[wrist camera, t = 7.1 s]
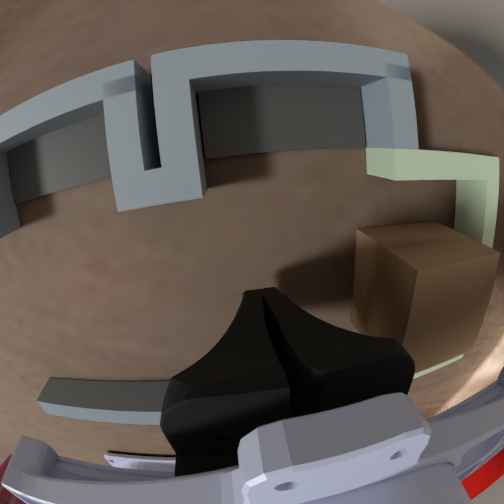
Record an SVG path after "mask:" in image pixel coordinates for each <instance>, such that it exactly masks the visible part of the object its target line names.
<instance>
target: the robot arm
mask: <svg viewBox="0 0 504 504" xmlns="http://www.w3.org/2000/svg"><path fill="white" fill-rule="evenodd" d="M414 373H415V361H414V360H413V359H412V357H411V356H410V355H409V353H408V352H407V351H406V349H405V348H404V347H403V346H402V345H401V344H400V342H399V341H398V340H397V339H391V338H382V337H374V336H369V335H364V334H359V333H355V332H352V331H348V330H345V329H342V328H339V327H336V326H334V325H331V324H329V323H327V322H325V321H323V320H320V319H318V318H316V317H315V316H313V315H311V314H309V313H308V312H306V311H305V310H303V309H301V308H300V307H299V306H297V305H296V304H295V303H293V302H292V301H291V300H289V299H288V298H287V297H286V296H285V295H283V294H282V293H281V292H280V291H279V290H278V289H276V288H275V287H271V288H263V289H256V290H248V291H245V292H244V293H243V297H242V301H241V304H240V307H239V309H238V311H237V314H236V316H235V318H234V319H233V321H232V323H231V325H230V326H229V328H228V330H227V331H226V333H225V334H224V335H223V337H222V338H221V339H220V340H219V342H218V343H217V344H216V345H215V346H214V347H213V348H212V349H211V350H210V351H209V352H208V353H207V354H206V355H205V356H204V357H202V358H201V359H200V360H199V361H197V362H196V363H195V364H193V365H192V366H190V367H189V368H187V369H185V370H184V371H182V372H180V373H179V374H177V375H175V376H173V377H172V378H171V380H170V383H169V385H168V388H167V391H166V393H165V396H164V400H163V404H162V411H161V418H160V426H161V429H162V431H163V433H164V435H165V436H166V438H167V440H168V441H169V443H170V445H171V446H172V448H173V450H174V451H175V453H176V457H151V456H136V455H126V454H117V453H109V452H106V453H104V457H105V459H106V460H107V461H108V462H109V463H110V464H111V465H112V466H113V467H111V466H105V465H99V464H94V463H88V462H83V461H79V460H74V459H70V458H66V457H62V456H58V455H57V453H56V452H55V451H54V450H53V449H52V448H51V447H50V446H49V445H48V444H46V443H45V442H43V441H40V440H37V439H33V438H30V437H27V436H24V435H21V437H20V439H19V441H18V443H17V445H16V448H15V450H14V452H13V454H12V457H11V459H10V461H9V464H8V466H7V469H6V471H5V474H4V476H3V479H2V481H1V484H2V486H4V487H5V488H6V489H7V490H9V491H10V492H11V493H13V494H14V495H15V496H17V497H18V498H19V499H21V500H22V501H23V502H25V503H26V504H473V503H472V502H471V500H470V498H469V496H468V494H467V492H466V490H465V489H464V487H463V485H462V483H461V481H462V480H463V479H465V478H466V477H468V476H469V475H470V474H472V473H473V472H474V471H476V470H477V469H478V468H480V467H481V466H482V465H483V464H485V463H486V462H487V461H488V460H490V459H491V458H492V457H493V456H495V455H496V454H497V453H498V452H499V451H500V450H502V449H503V448H504V367H503V369H502V370H501V372H500V374H499V376H498V380H497V381H495V382H494V383H492V384H491V385H489V386H487V387H486V388H484V389H483V390H481V391H480V392H478V393H476V394H475V395H473V396H471V397H470V398H468V399H466V400H464V401H463V402H461V403H459V404H457V405H455V406H454V407H452V408H450V409H448V410H446V411H444V412H442V413H440V414H438V415H436V416H434V417H432V418H430V419H428V420H425V418H424V417H423V415H422V414H421V412H420V411H419V409H418V408H417V406H416V405H415V403H414V401H413V400H412V398H411V397H409V396H407V394H408V391H409V388H410V386H411V383H412V380H413V377H414Z"/></svg>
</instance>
